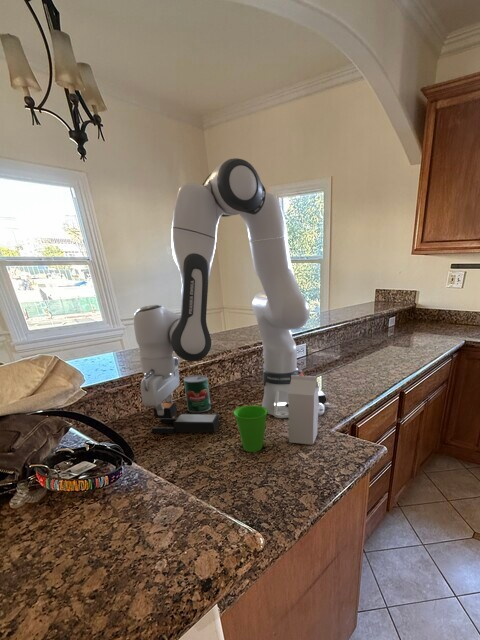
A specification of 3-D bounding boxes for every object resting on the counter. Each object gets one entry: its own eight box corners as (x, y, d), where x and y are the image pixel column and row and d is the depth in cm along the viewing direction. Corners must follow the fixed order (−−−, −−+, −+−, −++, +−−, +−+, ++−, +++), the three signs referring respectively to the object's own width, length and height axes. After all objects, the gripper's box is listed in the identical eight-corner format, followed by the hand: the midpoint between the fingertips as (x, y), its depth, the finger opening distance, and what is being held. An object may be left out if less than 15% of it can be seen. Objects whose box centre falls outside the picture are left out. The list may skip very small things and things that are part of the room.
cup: (276, 448, 98) (274, 411, 93) (249, 459, 92) (246, 421, 87) (256, 437, 104) (254, 402, 99) (230, 447, 98) (226, 410, 93)
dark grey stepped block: (219, 422, 113) (218, 413, 112) (213, 433, 106) (212, 423, 104) (162, 422, 113) (160, 412, 111) (152, 432, 106) (150, 422, 104)
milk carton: (313, 445, 100) (314, 380, 92) (288, 442, 101) (287, 378, 93) (317, 434, 106) (319, 373, 98) (294, 432, 107) (294, 371, 99)
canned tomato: (194, 414, 119) (189, 383, 114) (183, 408, 124) (179, 377, 119) (215, 409, 124) (211, 378, 119) (204, 402, 129) (200, 373, 124)
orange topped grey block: (177, 412, 110) (175, 402, 108) (171, 418, 105) (169, 408, 104) (161, 412, 110) (159, 402, 108) (154, 418, 105) (152, 408, 104)
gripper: (155, 376, 91) (163, 424, 97) (180, 357, 110) (186, 399, 116) (130, 375, 91) (140, 424, 97) (160, 357, 110) (166, 398, 116)
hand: (165, 410), depth 107 cm, fingers closed on orange topped grey block, 5 cm apart
